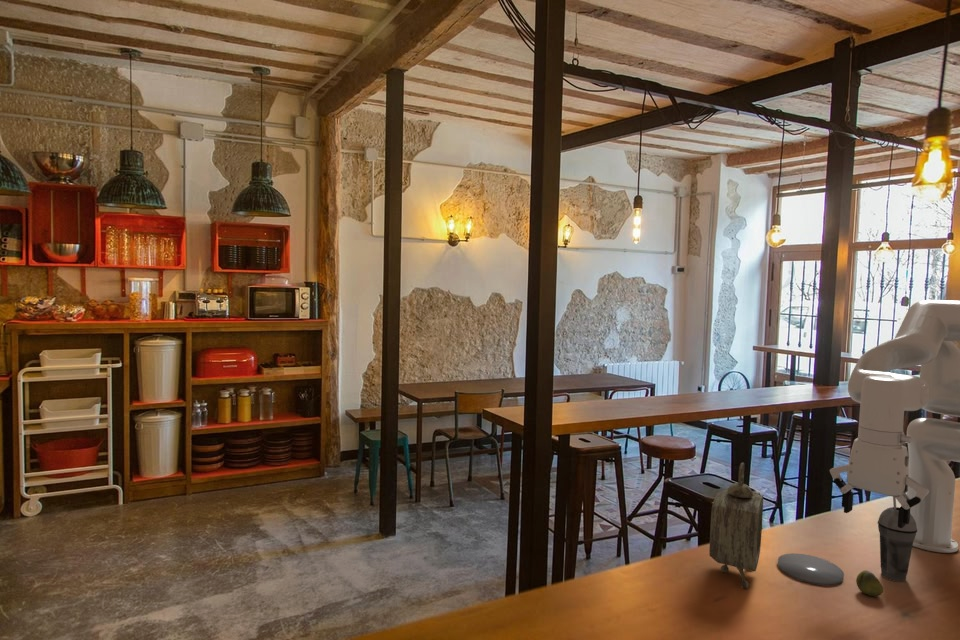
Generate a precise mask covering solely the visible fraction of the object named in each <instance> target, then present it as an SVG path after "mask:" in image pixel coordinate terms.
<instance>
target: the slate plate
mask: <svg viewBox="0 0 960 640" xmlns="http://www.w3.org/2000/svg"><path fill="white" fill-rule="evenodd" d="M777 567H778V568H779V569H780V571H781V572H782V573H783V574H786V575H787V576H788V577H791V578H793V579H796V580H798V581H801V582H805V583H808V584H811V585H818V586H837V585H840V584H841V583H843V582H844V578H845V577H844V576H845V573H844V571H843V569H841V568H840V567H839V566H838V565H836V564H835V563H833V562H831V561H829V560H826V559H824V558H820V557H818V556H815V555H814V556H813V555H810V554H804V553H785V554H781V555H780V556H778V559H777Z"/></svg>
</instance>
